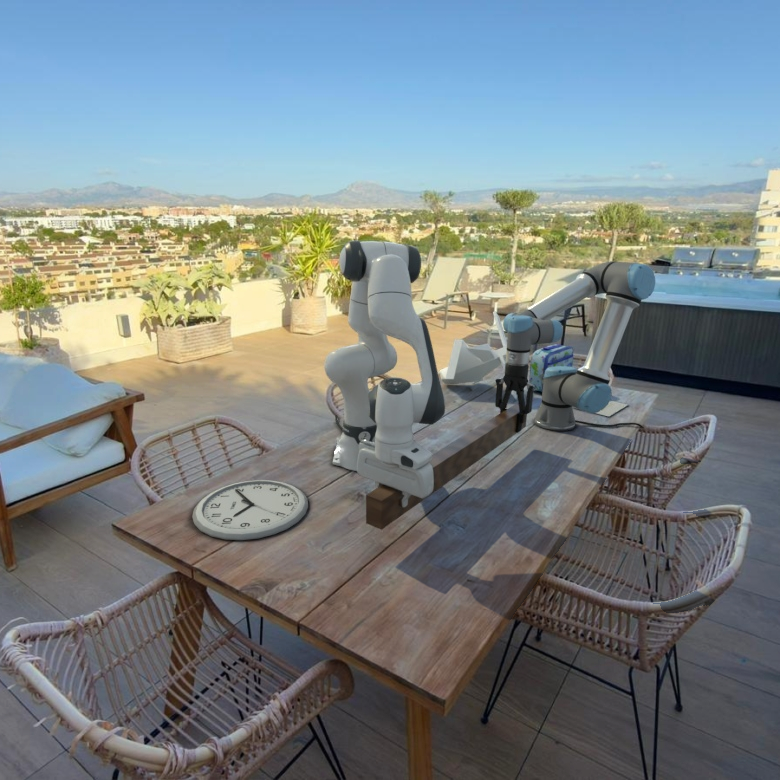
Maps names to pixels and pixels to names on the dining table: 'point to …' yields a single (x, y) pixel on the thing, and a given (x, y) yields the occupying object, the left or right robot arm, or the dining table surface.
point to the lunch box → (548, 362)
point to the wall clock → (250, 510)
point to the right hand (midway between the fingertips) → (511, 429)
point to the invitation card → (611, 408)
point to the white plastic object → (475, 361)
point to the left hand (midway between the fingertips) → (393, 501)
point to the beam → (445, 466)
